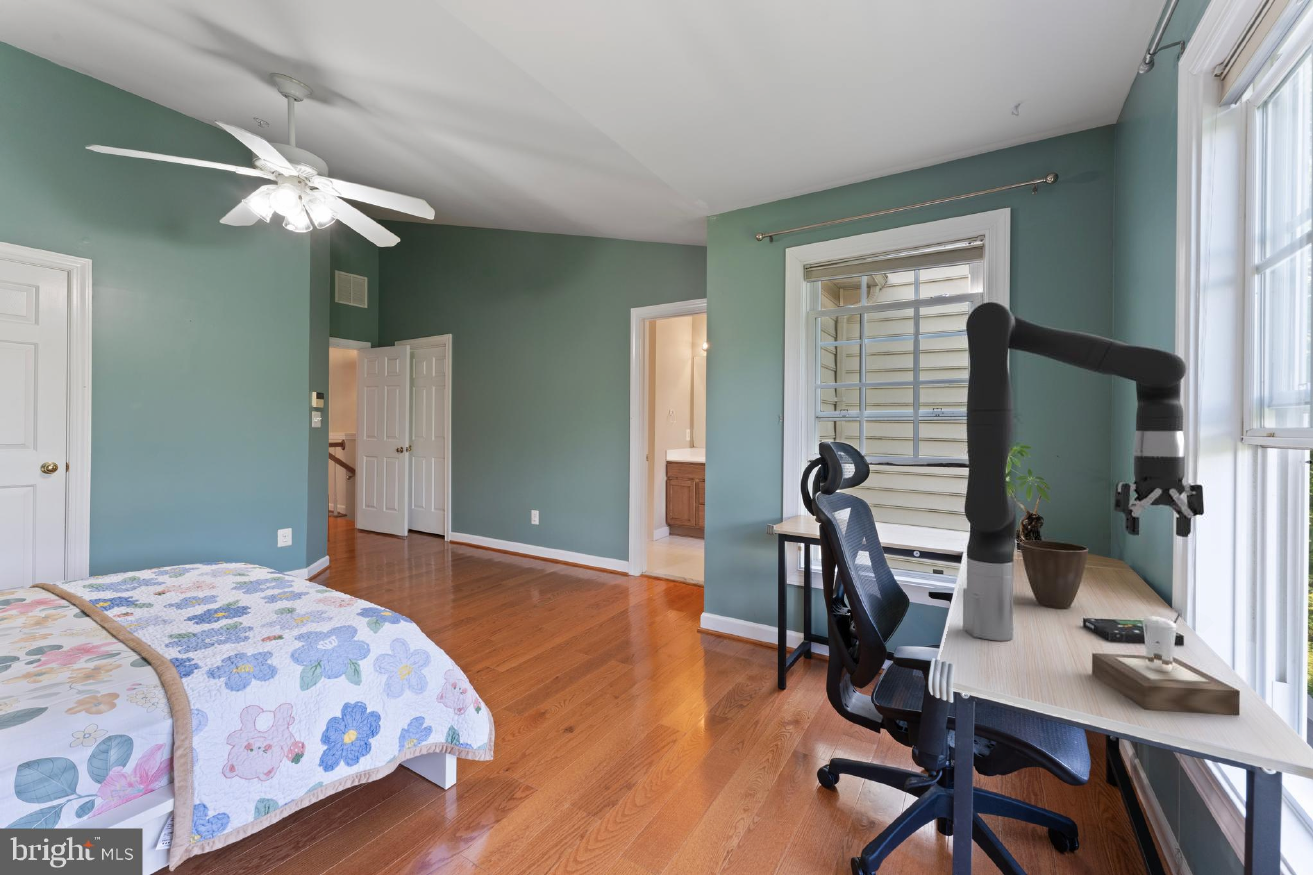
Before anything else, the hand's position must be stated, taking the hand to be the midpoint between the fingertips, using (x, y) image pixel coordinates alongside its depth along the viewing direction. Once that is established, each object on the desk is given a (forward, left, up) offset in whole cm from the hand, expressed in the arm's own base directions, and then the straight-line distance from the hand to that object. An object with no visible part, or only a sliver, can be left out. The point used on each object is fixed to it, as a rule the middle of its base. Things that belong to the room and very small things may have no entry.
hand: (1157, 535), depth 112 cm
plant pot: (+2, +40, -26) cm, 48 cm away
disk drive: (+7, +17, -27) cm, 33 cm away
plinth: (-8, -13, -26) cm, 30 cm away
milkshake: (-8, -13, -22) cm, 27 cm away
